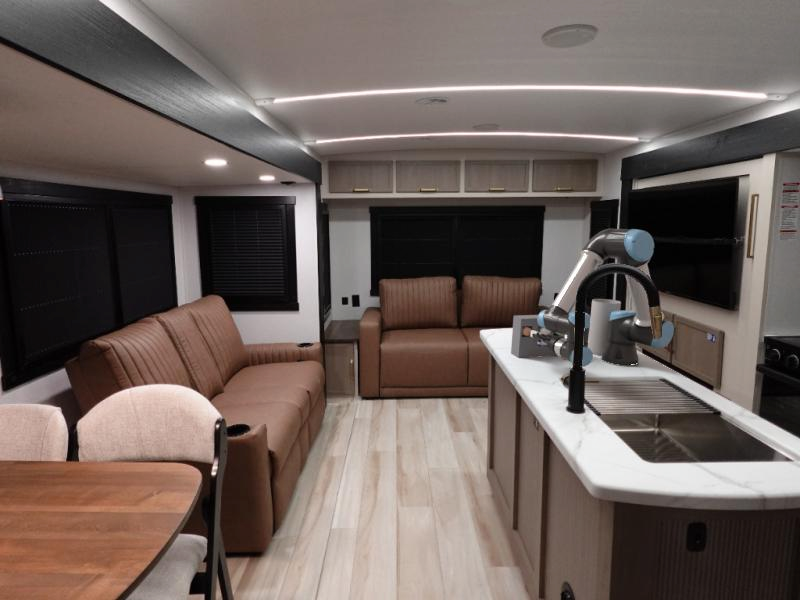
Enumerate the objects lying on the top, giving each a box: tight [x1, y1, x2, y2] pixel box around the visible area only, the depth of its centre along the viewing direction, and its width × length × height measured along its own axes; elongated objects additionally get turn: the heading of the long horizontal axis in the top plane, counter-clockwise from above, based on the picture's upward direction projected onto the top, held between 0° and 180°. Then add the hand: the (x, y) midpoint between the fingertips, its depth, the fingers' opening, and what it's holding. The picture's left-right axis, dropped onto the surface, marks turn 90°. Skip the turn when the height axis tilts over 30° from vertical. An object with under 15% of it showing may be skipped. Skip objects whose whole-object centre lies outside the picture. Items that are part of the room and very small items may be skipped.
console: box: [510, 314, 566, 359], centre depth 227 cm, size 23×7×18 cm, turn 105°
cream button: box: [538, 327, 550, 335], centre depth 223 cm, size 4×4×4 cm
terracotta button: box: [522, 326, 531, 336], centre depth 223 cm, size 4×4×4 cm
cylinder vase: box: [588, 298, 622, 356], centre depth 233 cm, size 12×12×25 cm
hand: (532, 333), depth 218 cm, fingers closed
